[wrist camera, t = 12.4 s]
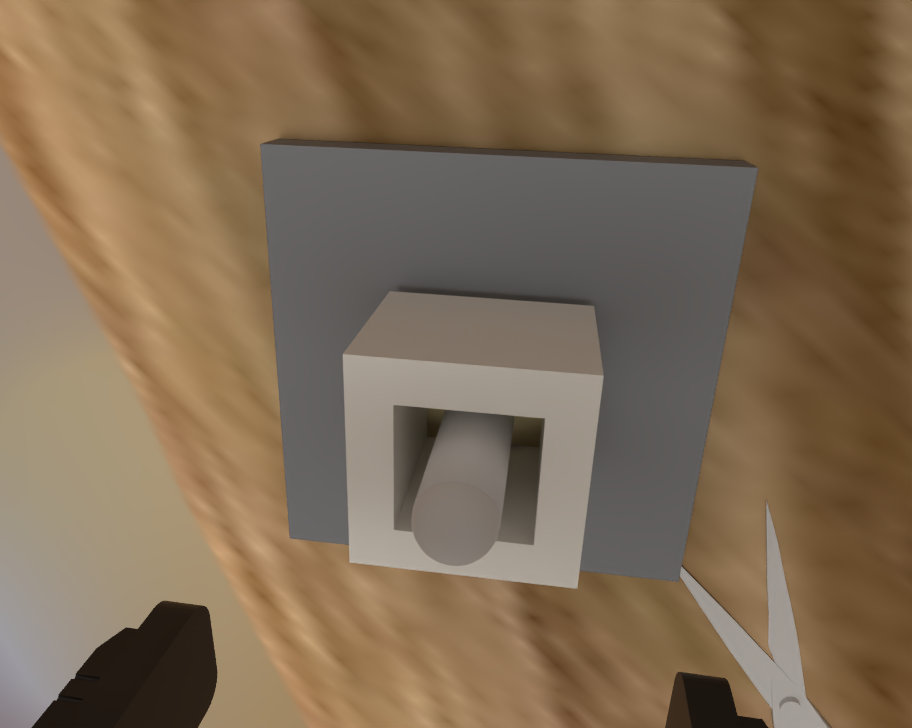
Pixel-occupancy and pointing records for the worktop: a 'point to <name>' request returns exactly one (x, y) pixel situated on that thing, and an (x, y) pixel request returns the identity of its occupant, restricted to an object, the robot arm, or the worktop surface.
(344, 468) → the post base
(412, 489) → the collar
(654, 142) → the worktop surface
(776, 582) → the scissors
